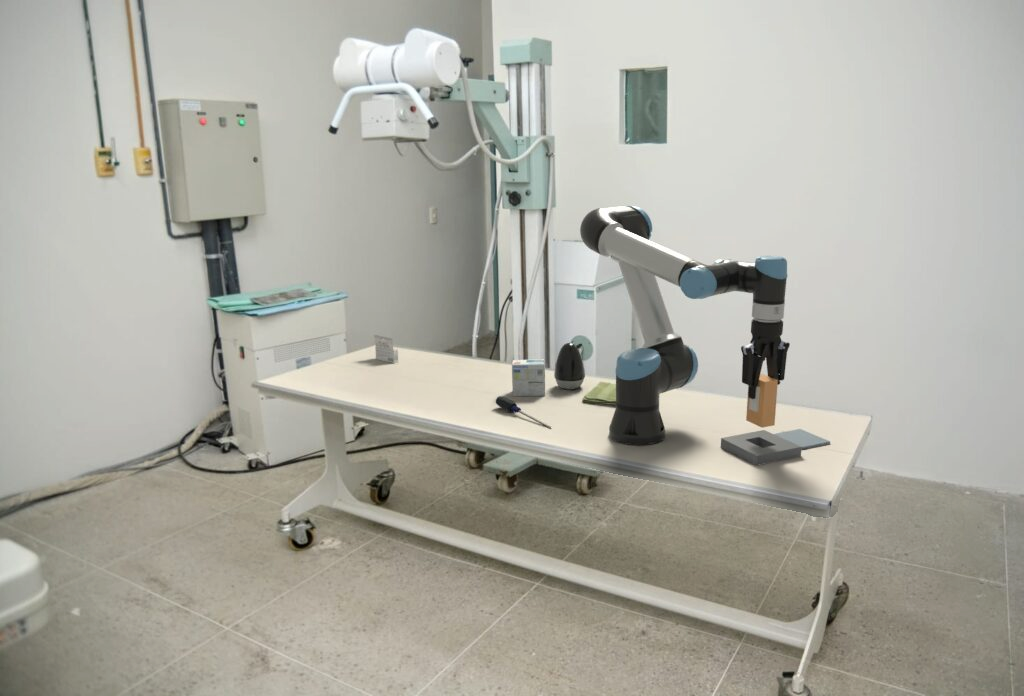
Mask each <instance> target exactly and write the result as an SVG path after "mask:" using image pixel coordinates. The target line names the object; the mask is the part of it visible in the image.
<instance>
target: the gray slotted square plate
mask: <svg viewBox="0 0 1024 696" xmlns="http://www.w3.org/2000/svg"><path fill="white" fill-rule="evenodd" d="M774 434H775V433H771V432H769V431H768V430H765V429H762V430H757V431H752V432H747V433H741V434H736V435H730V436H724V437H721V438H720V448H721V449H724V450H725V449H726V451H727V450H728V452H730V453H731V452H732V454H734V455H735V456H737V455H738V456H737V457H738V458H741V459H744V460H746V461H748V462H749V461H750V462H749V463H751V464H753V463H754V464H753V465H755V464H756V465H755V466H759V464H761V465H765V464H769V462H770V463H774V462H778V461H784V460H785V461H786V460H788V459H794V458H798V457H801V456H802V449H801V448H802V447H801V446H799V445H796V444H794V443H792V442H790V441H788V440H785V439H783V438H781V437H779V436H776V435H774ZM764 463H765V464H764Z"/></svg>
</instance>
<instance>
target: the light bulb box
mask: <svg viewBox="0 0 1024 696" xmlns="http://www.w3.org/2000/svg"><path fill="white" fill-rule="evenodd" d="M511 363H512V364H511V379H512V397H534V396H535V397H538V396H539V397H542V396H545V395H546V370H545V368H546V367H545V359H544V358H541V359H540V358H539V359H512V362H511Z"/></svg>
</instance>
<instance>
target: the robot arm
mask: <svg viewBox="0 0 1024 696" xmlns="http://www.w3.org/2000/svg"><path fill="white" fill-rule="evenodd" d="M579 229H580V230H579V232H580V233H579V234H580V236H581V237H580V238H581V240H582V242H583V243H584V245H585V246H586V247H587V248H588V249H590V250H591V251H593V252H595V253H596V254H599V255H601V256H603V257H610V259H611V260H612V261H614V262H616V263H618V266H619V269H620V271H621V275H622V277H623V281H624V283H625V286H626V287H625V288H626V289H627V292H628V295H629V299H630V302H631V305H632V308H633V310H634V314H635V316H636V320H637V323H638V326H639V329H640V331H641V335H642V338H643V341H644V342H643V345H642V347H640V348H636V349H635V348H632V349H629V350H626V351H624V352H622V353H620V354H619V356H618V357H617V360H616V367H615V384H616V405H615V410H614V412H613V416H612V419H611V421H610V425H609V427H608V428H609V430H608V431H609V433H608V435H609V438H610V439H612V440H614V441H615V440H616V441H615V442H617V441H618V443H620V442H621V444H624V443H626V445H631V444H633V446H646V445H645V444H648V445H653V443H654V444H657V442H658V443H660V442H662V441H664V439H665V438H666V427H665V425H664V421H663V418H662V415H661V412H660V394H664V393H667V392H670V391H673V390H677V389H679V388H683V387H685V386H687V385H688V384H689V383H692V381H693V380H694V379H695V377H696V375H697V374H698V369H699V360H698V357H697V354H696V352H695V350H693V348H691V347H690V346H689V345H686V344H684V341H683V338H682V336H681V335H679V334H678V333H677V332H675V331H674V329H673V326H672V322H671V319H670V317H669V314H668V311H667V308H666V305H665V301H664V298H663V296H662V293H661V290H660V287H659V284H658V282H657V281H658V280H657V277H658V278H660V279H662V280H664V281H666V282H669V283H670V284H673V285H674V286H677V287H678V288H680V290H681V292H682V293H683V294H684V296H686V297H687V298H689V299H692V300H697V299H698V300H702V299H706V298H709V297H714V296H718V295H722V294H727V293H732V292H741V293H748V294H752V308H751V318H752V319H751V324H750V334H751V336H752V337H751V339H750V342H749V344H747V345H742V346H741V347H740V350H741V354H742V366H741V383H742V384H745V385H747V399H748V398H750V401H749V409H750V410H753V411H755V412H758V410H759V395H760V387H759V386H757V385H758V381H759V377H760V374H762V373H761V372H762V367H763V364H764V362H765V361H766V363H765V364H766V372H767V376H769V377H771V378H774V379H777V380H778V384H777V386H779V385H780V384H781V381H784V380H785V377H786V376H785V375H786V364H787V357H788V356H787V355H788V351H789V348H790V342H788V341H784V340H782V338H781V336H782V335H783V331H784V321H783V319H784V317H785V316H784V315H785V306H786V305H785V304H786V302H785V301H786V298H785V297H786V291H787V279H788V261H787V259H786V258H785V257H783V256H780V255H760V256H757V257H756V258H755V260H754V261H755V262H748V261H747V262H746V261H739V260H732V259H716V260H715V261H714V263H712V264H709V265H708V264H704V263H702V262H700V261H697V260H695V259H693V258H691V257H689V256H686V255H684V254H681V253H679V252H677V251H675V250H672V249H670V248H668V247H665V246H663V245H661V244H659V243H656V242H654V241H652V240H650V238H651V237H652V232H653V223H652V221H651V218H650V216H649V214H648V213H647V212H646V211H645V210H644V209H643V208H641V207H639V206H635V205H626V204H624V205H621V206H610V207H601V208H595V209H593V210H591V211H589V212H588V213H587V214H586V215H585V216H584V218H583V219H582V221H581V224H580V228H579ZM748 386H749V388H748ZM635 444H637V445H635Z"/></svg>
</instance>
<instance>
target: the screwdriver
mask: <svg viewBox="0 0 1024 696" xmlns="http://www.w3.org/2000/svg"><path fill="white" fill-rule="evenodd" d="M495 404H496V405H497V407H499V408H500V409H503V410H504V411H505V412H507V413H519V414H521V415H523V416H525V417H526V418H529V419H531V420H533V421H535V422H537V423H538V424H540V425H543V426H544V427H546V426H547V427H546V428H548V427H549V428H548V429H551V427H552V426H550V425H549V424H547V423H545V422H543V421H542V420H539V419H537V418H535V417H533V416H532V415H529V414H528V413H526V412H524V411H522V409H521V408H520V407H518V405H517V403H516V402H515V401H514V400H512V399H510V398H508V397H505V396H500V395H499V396H497V397H496V399H495Z"/></svg>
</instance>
